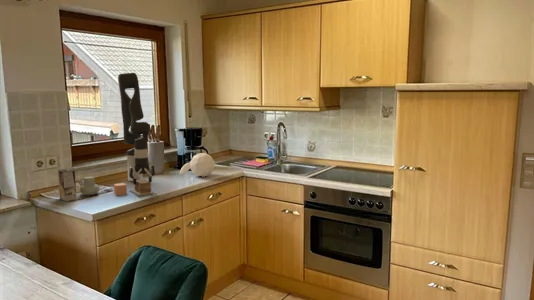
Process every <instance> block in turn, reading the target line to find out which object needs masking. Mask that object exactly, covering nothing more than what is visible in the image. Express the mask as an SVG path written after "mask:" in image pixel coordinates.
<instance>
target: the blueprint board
mask: <svg viewBox="0 0 534 300" xmlns="http://www.w3.org/2000/svg"><path fill="white" fill-rule="evenodd" d="M129 192H130V193H132V194H134V195H135V196H136V197H138V198H143V197H149V195H151V196H154V195H153V194H156V195H157V192H154V191H153V190H151V192H150V193H143V194H140V193H138V192H137V191H135V188H133V189H129Z"/></svg>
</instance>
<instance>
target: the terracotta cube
mask: <svg viewBox="0 0 534 300" xmlns="http://www.w3.org/2000/svg"><path fill="white" fill-rule="evenodd" d="M113 190H114V191H113V193H114V194H115V195H116V196H120V195H127V194H128V192H127V190H128V189H127V184H126V183H125V182H121V183H114V184H113Z"/></svg>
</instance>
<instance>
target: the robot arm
mask: <svg viewBox="0 0 534 300" xmlns="http://www.w3.org/2000/svg"><path fill="white" fill-rule="evenodd" d="M117 82H118V88H119V89H118V90H119V94H120V107H121V117H122V126H123V128H122V129H123V142H124V144H125V145H134V147H132V148H129V149H128V150H127V151H126V159H127V160H126V162H127V181H129V182H132V183H133V185H134V186H135V185H137V184H136V180H142V179H144V177H143V174H144V175H145V174H146V175H148V177H147V178H148V179H147V181H149V182H151V183H152V181H153V179H152V178H153V176H156V175H155V174H156V173H155V172H156V171H155V165H154V164H151V165H150V164H149V150H148V138H149V133H150V128H151V127H150V126H151V125H150V124H149V123H148V122H147V121H141V120H142V119H144V112H143V108H142V102H141V91H140V84H139V77H138V75H137V73H135V72H126V73H125V72H124V73H123V72H121V73H119V74H118V75H117ZM130 89H133V95H132V96H131V97H130V96H129V94H128V93H127V91H126V90H130ZM149 169H150V171H149Z"/></svg>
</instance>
